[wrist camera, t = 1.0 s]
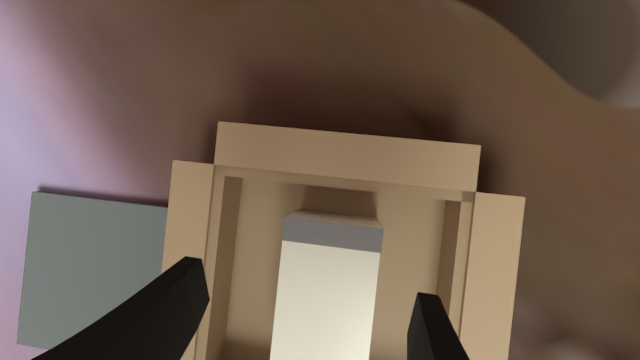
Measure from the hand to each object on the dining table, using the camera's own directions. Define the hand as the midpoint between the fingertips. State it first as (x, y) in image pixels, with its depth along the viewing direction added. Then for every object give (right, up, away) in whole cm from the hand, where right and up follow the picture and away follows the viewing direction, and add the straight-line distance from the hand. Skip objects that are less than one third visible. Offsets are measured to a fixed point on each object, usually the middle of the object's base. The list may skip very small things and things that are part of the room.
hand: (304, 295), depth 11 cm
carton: (+1, -3, +11) cm, 12 cm away
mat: (-15, -3, +13) cm, 20 cm away
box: (+1, -3, +11) cm, 11 cm away
